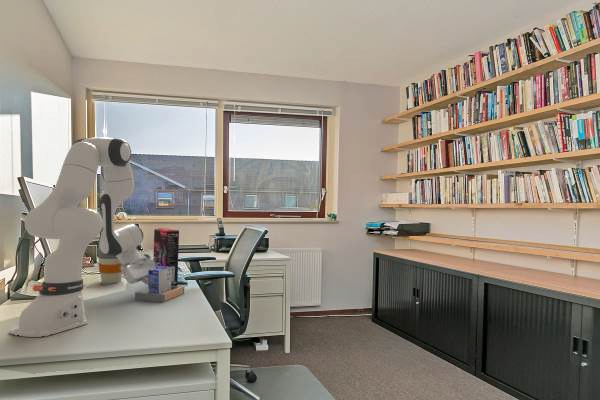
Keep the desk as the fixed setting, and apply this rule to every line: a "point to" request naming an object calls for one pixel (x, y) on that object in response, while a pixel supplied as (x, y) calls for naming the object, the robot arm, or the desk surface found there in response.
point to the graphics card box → (167, 250)
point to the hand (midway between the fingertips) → (153, 285)
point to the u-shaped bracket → (160, 295)
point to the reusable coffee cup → (109, 268)
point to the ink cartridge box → (160, 279)
